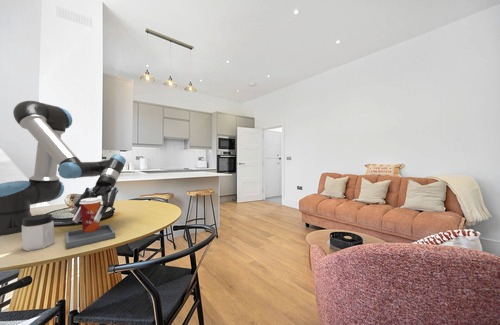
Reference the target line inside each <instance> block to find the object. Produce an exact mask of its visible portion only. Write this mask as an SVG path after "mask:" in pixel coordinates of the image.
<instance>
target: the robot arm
mask: <svg viewBox="0 0 500 325" xmlns="http://www.w3.org/2000/svg"><path fill="white" fill-rule="evenodd" d="M12 113H13V118H14V120H15V122H16V123H17V124H18V125H19V126H20V127H21V128H22V129H25V130H27V131H28V132H29V133H30V135H31V136H32V137H33V138H34V139H35V141H37V145H36V154H35V155H36V156H35V163H34V170H33V171H34V172H33V175H32V176H30V177H29V179H28V180H16V181H8V182H2V183H0V236H3V235H10V234H15V233H22V225H23V219H24V218H26V217H29V216H33V215H32V212H31V205H36V204H42V203H47V202H51V201H54V200H57V199H59V198H60V197H62V195H63V194H64V192H65V186H64V184H63V182H62V181H61V180H60V177H61V178H62V179H69V180H70V179H77V178H78V179H79V178H87V177H89V178H91V177H92V178H93V177H94V178H95V177H98V178H97V181H96V183H95V185H94V186H93V187H91V188H89V187H86V188H85V191H84V192H83V193H81V194H82V196H81V197H80V198H79V199H78V201H77V202H76V203H75V204H74V203H73V206H74V205H75V206H76V207H77V210H76V212H75V216H74V215H73V218H72V222H74V223H75V224H79V223H78V221H79V220H80V218H81V206H80V204H79V203H80V201H81V200H82V199H86V198H99V197H102V205H101V206H100V208H99V210H98V212H97V214H96V216H95V218H94V220H95V221H96V222H99V221H100V220H101V218H102V216H103V215H105V213H106V212H107V210H108V209H109V208H113V207H114V204H115V201H116V197H117V194H118V192H119V189H118V188H117V187H115V185H116V184H117V182H118V179H119V178H120V175H121V173H122V171H123V169H124V167H125V165H126V161H127V159H126V158H125V157H124V156H122V155H120V154H113V155H111V157H110V158H109V159H106V160H100V161H86V162H85V161H81V160H80V158H78V157H77V155H76V154H75V153H74V152H73V151H72V149H70V148H69V147H68V145H67V144H66V143H65V142H64V141H63V140H62V135H63V134H64V133H65V132H66V129H68V128H70V127H72V124H73V118H72V117H73V116H72V115H71V113H70V112H69V111H68V110H66V109H65V108H63V107H60V106H56V105H52V104H48V103H44V102H40V101H36V100H23V101H20V102H18V103H17V104H16V105H15V107H14V109H13V112H12ZM57 173H58V175H59V176H60V177H58V176H57ZM109 193H110V196H109Z"/></svg>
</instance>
